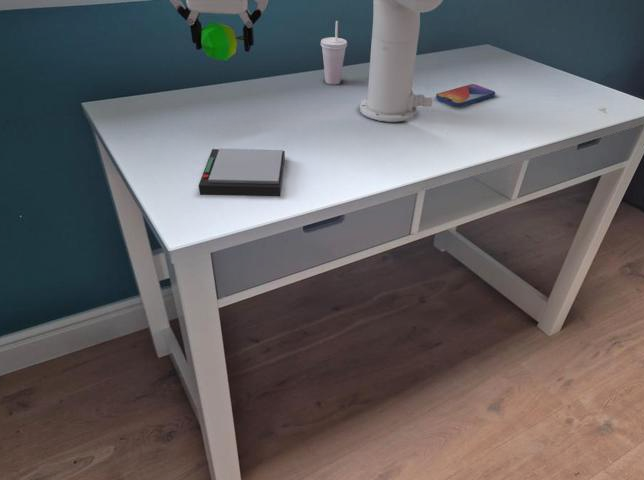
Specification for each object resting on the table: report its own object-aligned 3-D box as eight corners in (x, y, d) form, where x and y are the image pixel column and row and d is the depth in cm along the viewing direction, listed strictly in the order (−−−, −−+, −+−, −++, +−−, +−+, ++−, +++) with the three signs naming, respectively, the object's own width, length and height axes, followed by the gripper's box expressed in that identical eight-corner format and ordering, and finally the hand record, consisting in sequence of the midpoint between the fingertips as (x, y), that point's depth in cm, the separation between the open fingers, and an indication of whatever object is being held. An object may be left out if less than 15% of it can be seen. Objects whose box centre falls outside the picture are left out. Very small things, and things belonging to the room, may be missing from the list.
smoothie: (342, 87, 122) (345, 25, 113) (317, 84, 123) (317, 23, 114) (347, 79, 127) (350, 19, 118) (323, 76, 128) (324, 16, 119)
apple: (197, 16, 84) (244, 9, 88) (189, 35, 89) (234, 28, 94) (215, 56, 85) (261, 47, 89) (206, 73, 90) (249, 64, 95)
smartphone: (496, 96, 123) (497, 92, 122) (457, 108, 115) (458, 104, 114) (472, 87, 127) (473, 83, 126) (433, 98, 119) (434, 94, 118)
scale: (284, 159, 92) (284, 147, 90) (280, 196, 82) (279, 183, 80) (213, 158, 91) (211, 145, 89) (199, 194, 81) (197, 181, 79)
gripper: (148, -69, 76) (170, 52, 87) (264, -63, 76) (270, 57, 88) (162, -74, 81) (180, 40, 93) (269, -68, 82) (274, 44, 93)
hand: (224, 48), depth 90 cm, fingers closed on apple, 8 cm apart
